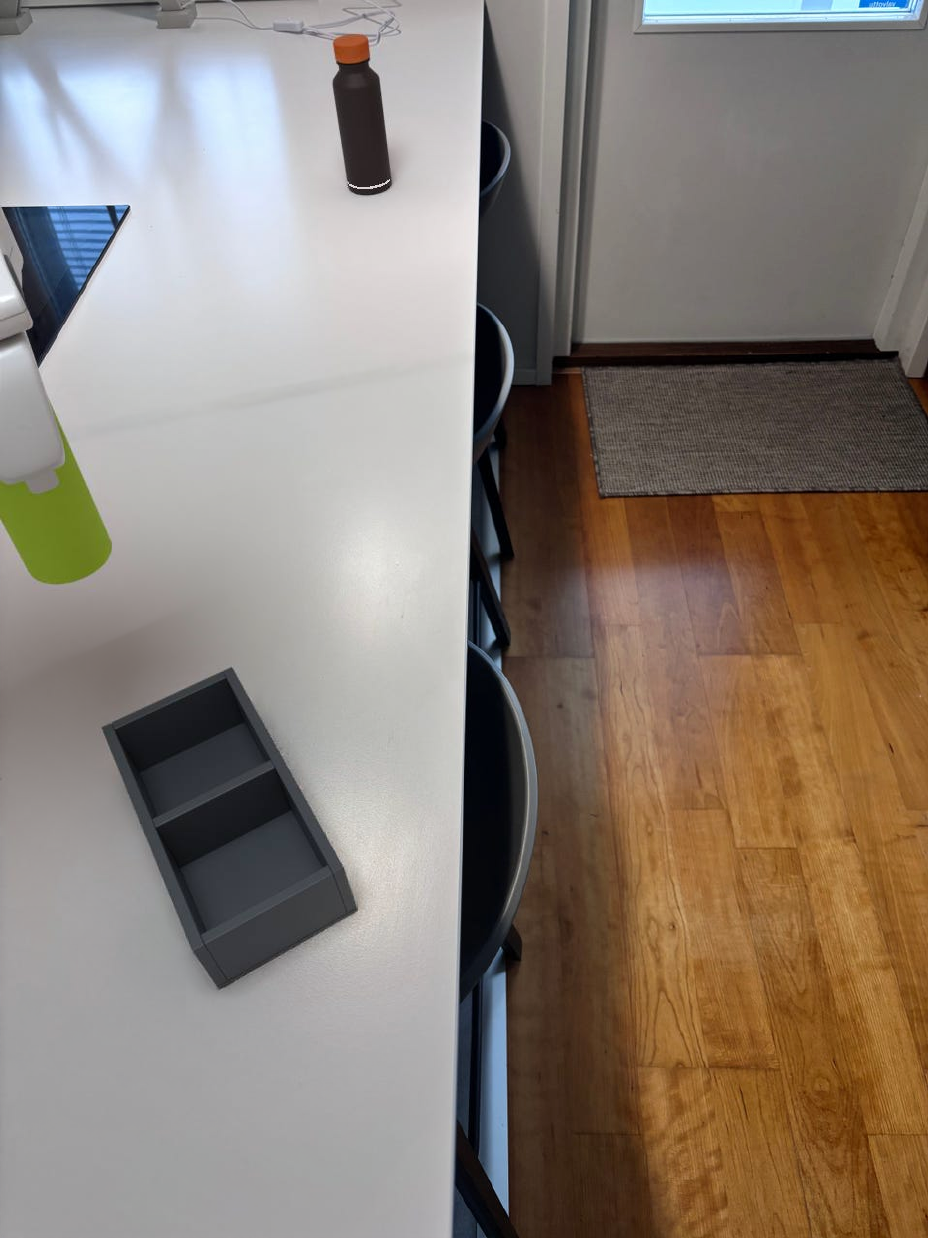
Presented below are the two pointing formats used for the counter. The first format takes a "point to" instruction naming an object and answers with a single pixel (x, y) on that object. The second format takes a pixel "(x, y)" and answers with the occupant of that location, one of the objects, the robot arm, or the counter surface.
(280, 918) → the storage box
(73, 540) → the soap dispenser
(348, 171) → the bottle
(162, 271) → the counter surface
